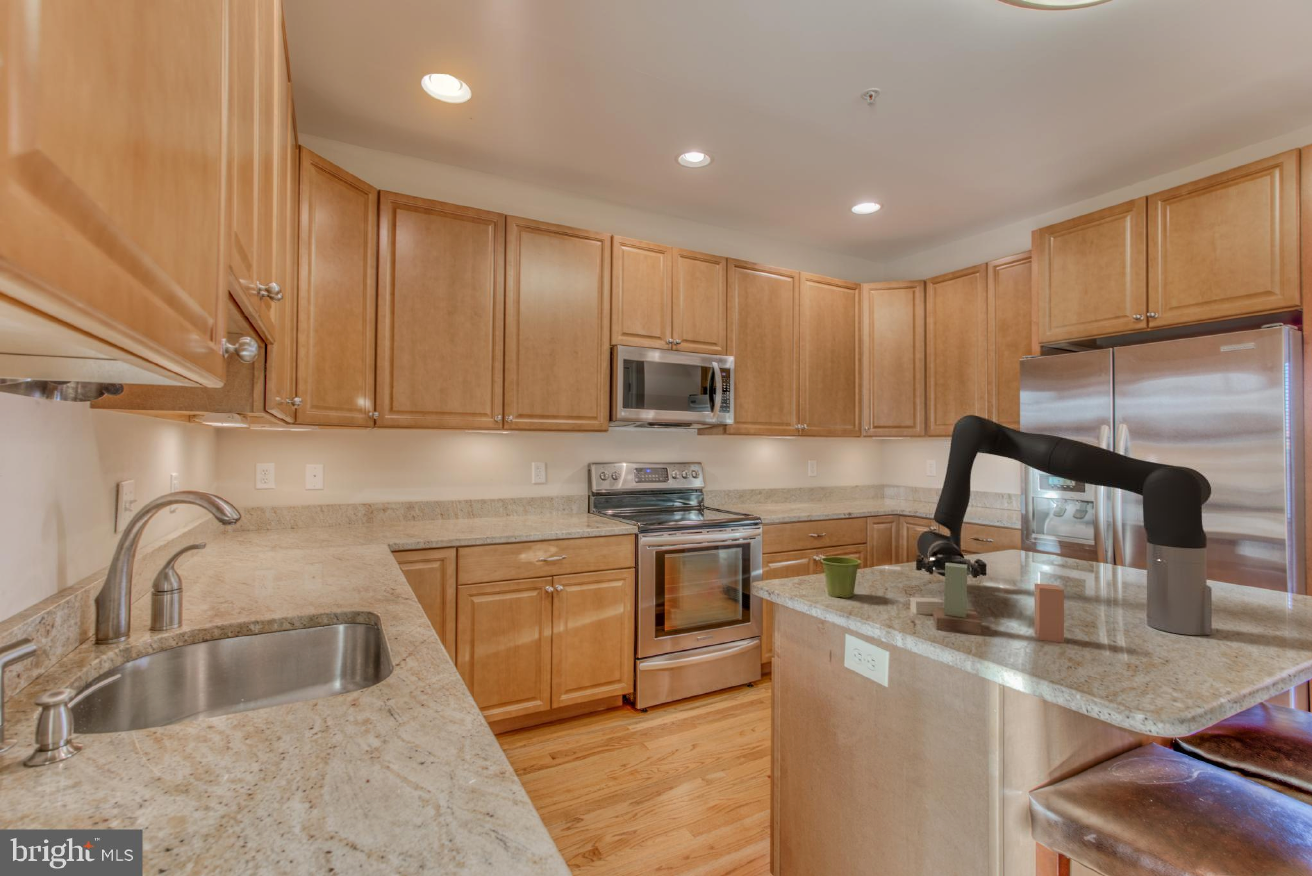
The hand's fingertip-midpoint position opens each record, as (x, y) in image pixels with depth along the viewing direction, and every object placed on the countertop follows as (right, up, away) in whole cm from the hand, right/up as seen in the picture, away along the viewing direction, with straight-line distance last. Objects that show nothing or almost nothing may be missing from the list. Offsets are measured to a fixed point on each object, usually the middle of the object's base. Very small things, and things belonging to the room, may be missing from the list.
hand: (953, 571), depth 128 cm
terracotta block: (+12, -10, -13) cm, 20 cm away
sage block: (-3, -7, -6) cm, 10 cm away
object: (-19, -10, +18) cm, 28 cm away
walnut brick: (-3, -10, -6) cm, 12 cm away
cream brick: (-4, -10, +4) cm, 12 cm away
